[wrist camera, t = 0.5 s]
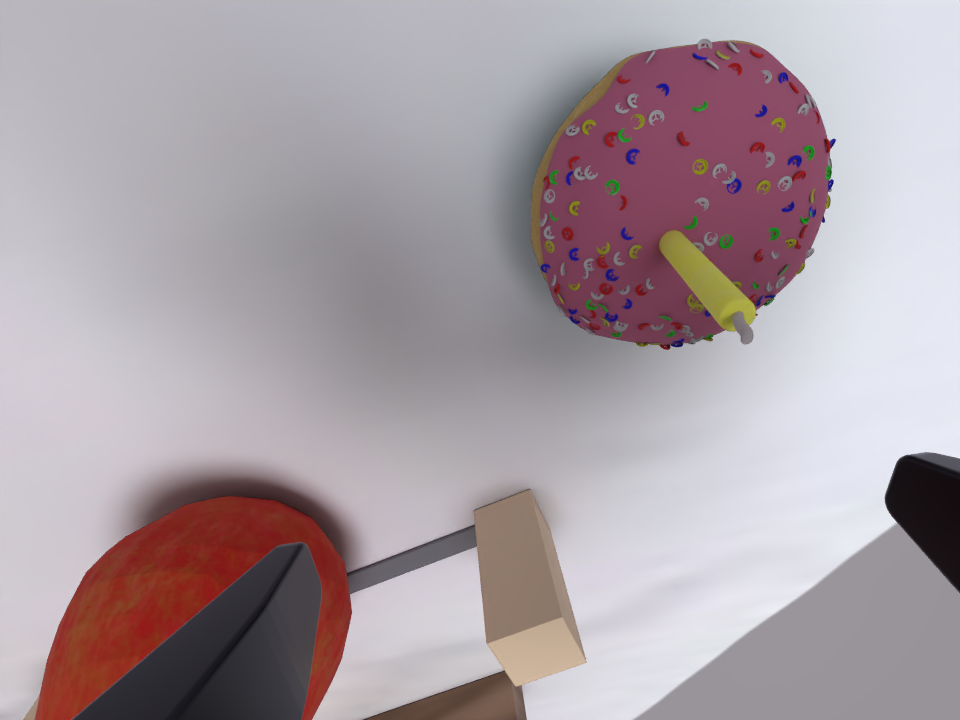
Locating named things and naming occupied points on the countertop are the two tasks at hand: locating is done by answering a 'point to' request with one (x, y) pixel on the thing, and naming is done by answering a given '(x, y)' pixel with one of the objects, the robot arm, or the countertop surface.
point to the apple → (183, 595)
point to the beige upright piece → (503, 587)
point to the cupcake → (681, 194)
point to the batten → (467, 703)
